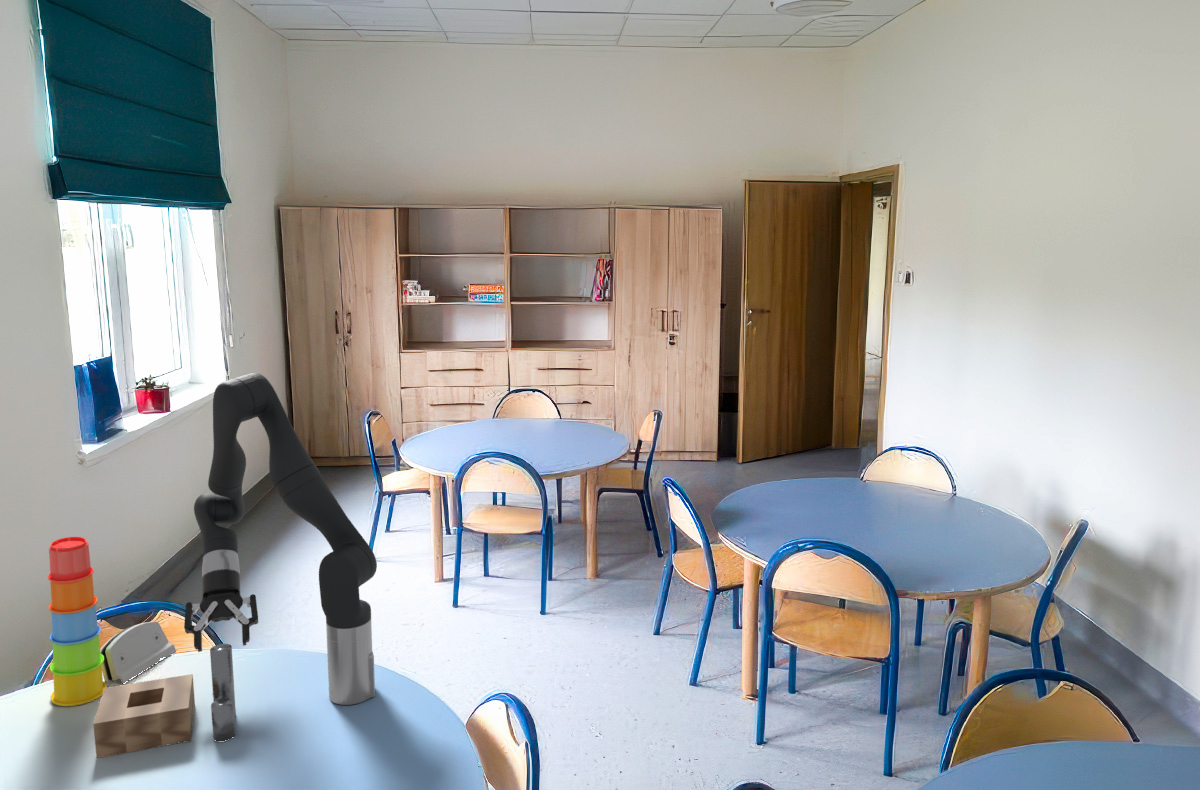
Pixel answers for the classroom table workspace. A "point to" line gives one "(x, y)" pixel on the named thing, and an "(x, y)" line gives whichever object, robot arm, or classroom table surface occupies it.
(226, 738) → the short pin
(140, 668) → the grey curved housing
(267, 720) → the classroom table surface
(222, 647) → the long pin
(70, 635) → the stacking cups
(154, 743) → the bore block
